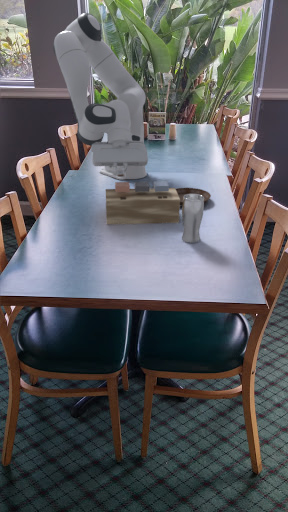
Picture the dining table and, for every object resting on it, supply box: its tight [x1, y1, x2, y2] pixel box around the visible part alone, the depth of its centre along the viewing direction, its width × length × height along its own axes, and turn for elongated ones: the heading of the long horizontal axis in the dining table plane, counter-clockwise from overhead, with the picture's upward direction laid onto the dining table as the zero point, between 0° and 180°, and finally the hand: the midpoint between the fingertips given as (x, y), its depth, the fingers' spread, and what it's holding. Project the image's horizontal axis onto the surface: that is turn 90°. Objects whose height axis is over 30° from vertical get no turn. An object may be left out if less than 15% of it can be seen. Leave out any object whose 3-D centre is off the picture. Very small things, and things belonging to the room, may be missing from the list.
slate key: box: [152, 180, 170, 191], centre depth 166 cm, size 5×5×2 cm
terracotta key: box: [114, 181, 131, 192], centre depth 164 cm, size 5×5×2 cm
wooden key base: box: [105, 187, 181, 226], centre depth 167 cm, size 12×26×9 cm, turn 95°
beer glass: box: [181, 194, 205, 244], centre depth 150 cm, size 7×7×15 cm
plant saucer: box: [175, 187, 212, 207], centre depth 184 cm, size 18×18×3 cm
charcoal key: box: [133, 181, 150, 192], centre depth 165 cm, size 5×5×2 cm
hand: (120, 175), depth 165 cm, fingers closed
